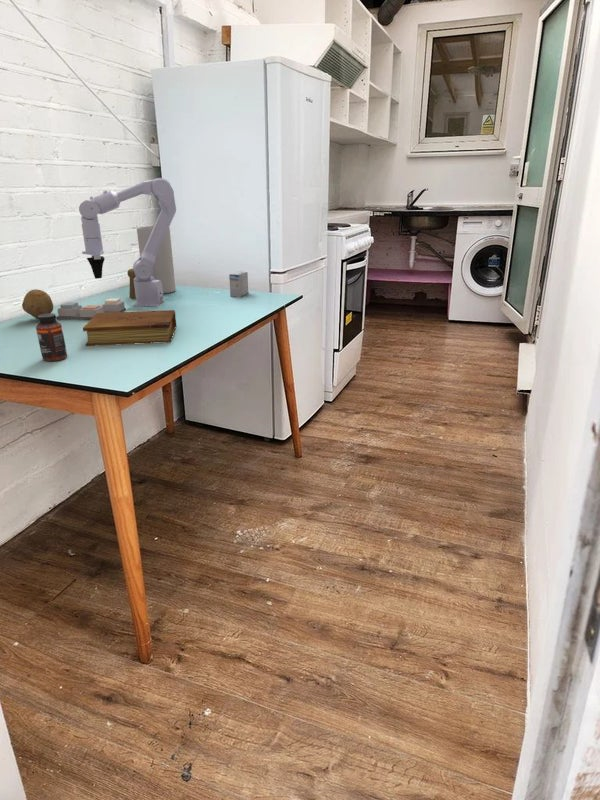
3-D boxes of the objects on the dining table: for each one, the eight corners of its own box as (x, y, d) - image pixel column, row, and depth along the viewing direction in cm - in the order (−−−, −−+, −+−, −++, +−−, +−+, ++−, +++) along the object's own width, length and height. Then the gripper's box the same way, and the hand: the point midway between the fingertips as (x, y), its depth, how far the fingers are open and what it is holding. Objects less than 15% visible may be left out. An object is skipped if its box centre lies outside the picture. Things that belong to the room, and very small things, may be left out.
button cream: (121, 305, 187) (120, 298, 186) (116, 307, 183) (115, 300, 182) (110, 305, 187) (109, 298, 186) (105, 307, 183) (104, 300, 182)
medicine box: (238, 293, 215) (237, 271, 212) (248, 293, 214) (247, 271, 211) (230, 296, 208) (228, 274, 205) (240, 297, 207) (239, 274, 204)
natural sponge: (19, 323, 172) (13, 292, 168) (33, 316, 180) (27, 286, 177) (47, 323, 172) (41, 291, 168) (60, 316, 180) (54, 286, 176)
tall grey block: (172, 294, 214) (165, 228, 204) (140, 294, 214) (132, 229, 204) (178, 288, 225) (172, 226, 216) (148, 289, 225) (141, 226, 216)
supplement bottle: (71, 355, 140) (64, 312, 136) (61, 362, 134) (53, 317, 130) (49, 355, 140) (40, 312, 136) (38, 362, 135) (28, 317, 130)
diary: (176, 327, 168) (175, 309, 165) (171, 344, 150) (169, 324, 148) (100, 330, 165) (97, 311, 163) (85, 347, 148) (82, 327, 146)
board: (126, 310, 188) (124, 301, 187) (109, 319, 175) (108, 310, 174) (76, 309, 190) (75, 300, 188) (56, 319, 177) (55, 309, 176)
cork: (143, 299, 206) (139, 269, 202) (127, 299, 206) (123, 269, 202) (147, 295, 212) (144, 267, 207) (132, 296, 212) (128, 267, 207)
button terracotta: (100, 312, 180) (99, 305, 179) (95, 315, 176) (94, 308, 175) (89, 312, 180) (88, 305, 179) (83, 315, 176) (82, 307, 176)
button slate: (78, 309, 181) (77, 302, 180) (73, 312, 177) (71, 305, 177) (67, 309, 181) (66, 302, 181) (61, 312, 178) (60, 305, 177)
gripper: (78, 236, 188) (84, 275, 193) (81, 240, 176) (88, 282, 181) (99, 235, 191) (104, 274, 196) (104, 239, 179) (110, 280, 184)
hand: (98, 278), depth 189 cm, fingers closed
